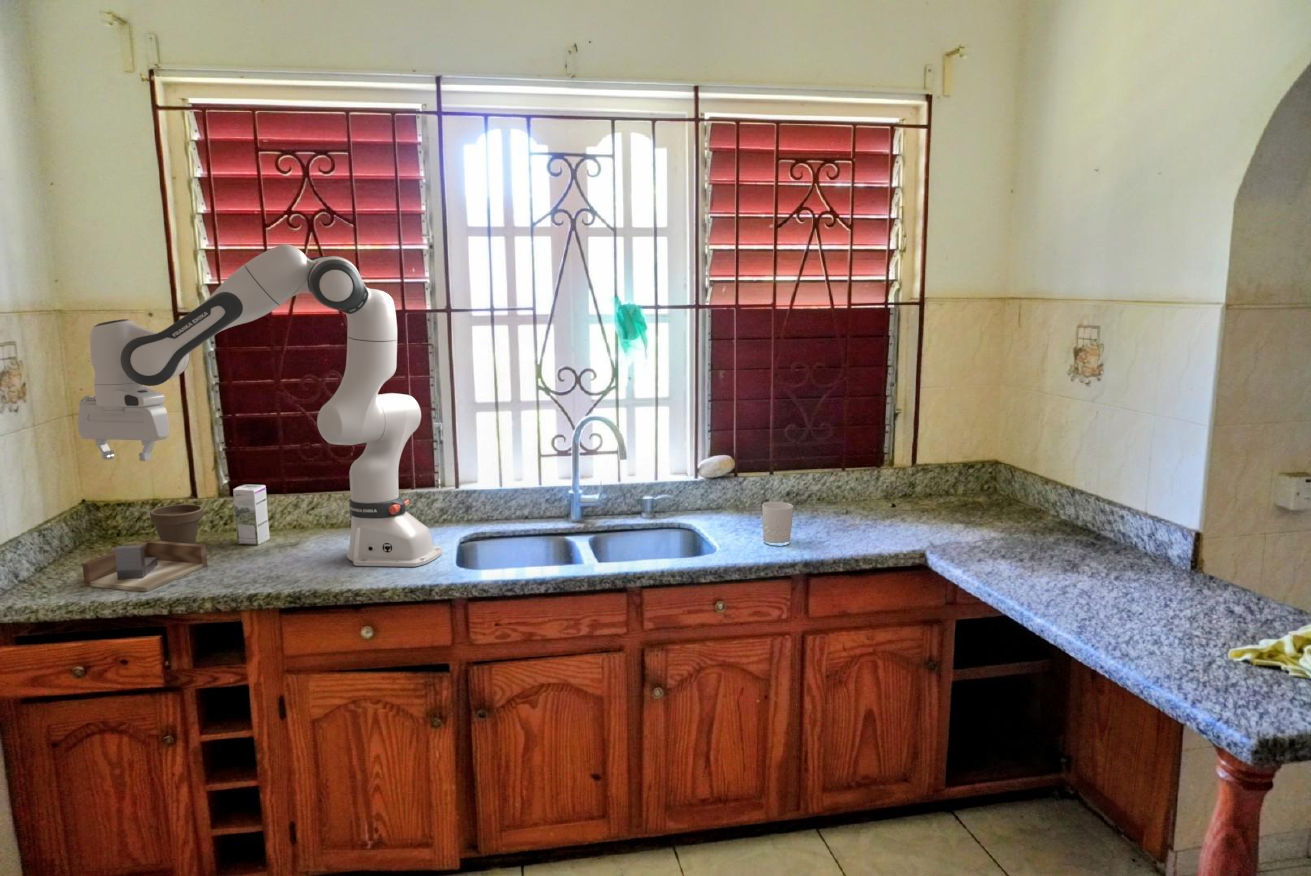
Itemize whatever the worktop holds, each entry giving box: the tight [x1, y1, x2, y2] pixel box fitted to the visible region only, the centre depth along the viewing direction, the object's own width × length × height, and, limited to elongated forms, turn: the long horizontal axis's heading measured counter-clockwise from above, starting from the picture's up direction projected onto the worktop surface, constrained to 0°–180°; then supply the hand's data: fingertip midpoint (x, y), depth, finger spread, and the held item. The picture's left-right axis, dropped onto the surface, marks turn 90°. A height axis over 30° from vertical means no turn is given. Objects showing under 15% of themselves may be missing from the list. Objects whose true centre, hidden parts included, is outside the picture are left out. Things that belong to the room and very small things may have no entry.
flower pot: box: [149, 503, 204, 544], centre depth 214 cm, size 12×11×10 cm
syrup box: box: [232, 484, 270, 546], centre depth 220 cm, size 6×6×14 cm
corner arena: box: [81, 539, 208, 593], centre depth 195 cm, size 16×18×5 cm
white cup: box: [761, 501, 794, 543], centre depth 222 cm, size 8×8×10 cm
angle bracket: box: [114, 544, 158, 580], centre depth 194 cm, size 9×5×7 cm, turn 11°
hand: (126, 459), depth 187 cm, fingers open, 8 cm apart
